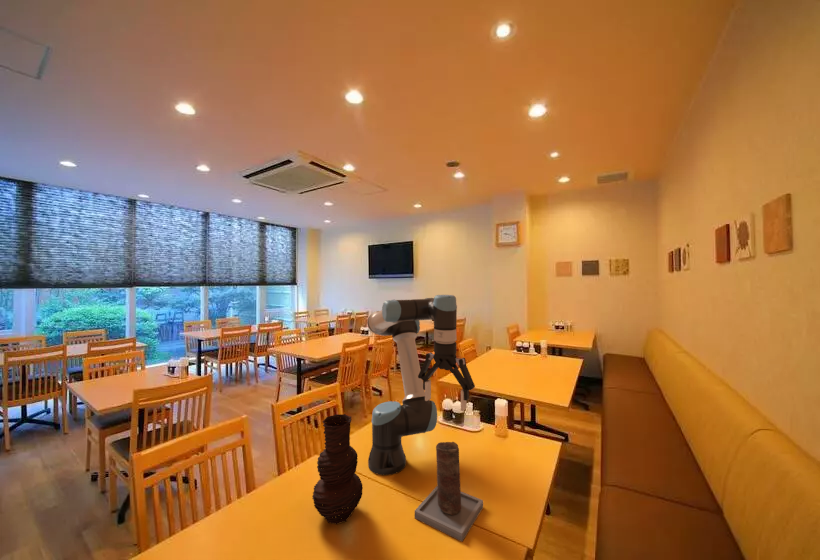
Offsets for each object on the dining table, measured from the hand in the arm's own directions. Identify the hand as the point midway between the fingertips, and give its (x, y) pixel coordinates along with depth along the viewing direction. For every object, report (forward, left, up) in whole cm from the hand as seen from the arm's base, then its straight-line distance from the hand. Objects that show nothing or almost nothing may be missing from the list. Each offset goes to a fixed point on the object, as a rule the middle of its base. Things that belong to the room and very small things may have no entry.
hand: (445, 404), depth 106 cm
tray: (+4, -5, -32) cm, 32 cm away
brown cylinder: (+3, -5, -31) cm, 31 cm away
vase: (-25, -25, -32) cm, 48 cm away
